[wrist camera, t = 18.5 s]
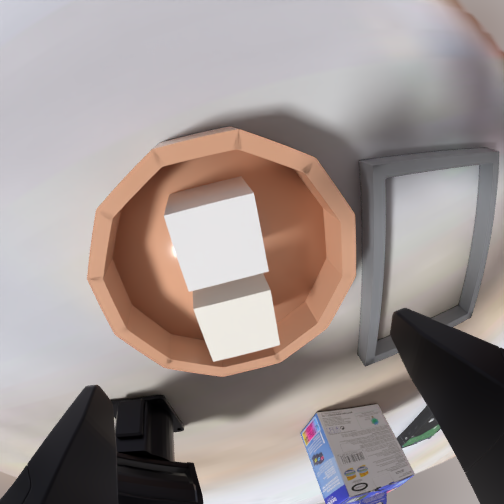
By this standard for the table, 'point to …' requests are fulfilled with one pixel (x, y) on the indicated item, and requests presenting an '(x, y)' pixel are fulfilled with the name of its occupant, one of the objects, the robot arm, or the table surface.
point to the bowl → (273, 233)
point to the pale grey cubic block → (216, 233)
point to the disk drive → (419, 429)
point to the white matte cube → (236, 317)
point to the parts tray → (375, 236)
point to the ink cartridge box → (355, 455)
